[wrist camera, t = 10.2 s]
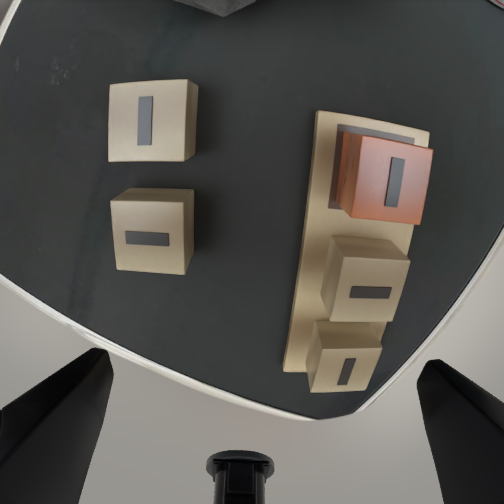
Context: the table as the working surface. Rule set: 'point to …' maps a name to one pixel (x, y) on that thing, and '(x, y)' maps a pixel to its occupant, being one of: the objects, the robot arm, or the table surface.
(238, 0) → the potted plant
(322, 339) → the right tiles
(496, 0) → the pill bottle
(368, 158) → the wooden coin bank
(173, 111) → the left tiles
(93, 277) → the table surface
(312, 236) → the pattern board
